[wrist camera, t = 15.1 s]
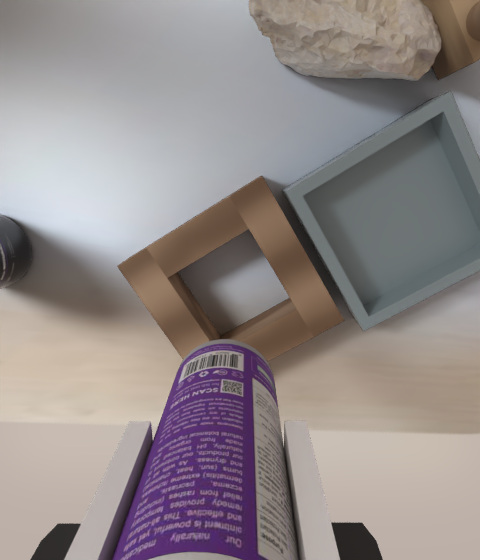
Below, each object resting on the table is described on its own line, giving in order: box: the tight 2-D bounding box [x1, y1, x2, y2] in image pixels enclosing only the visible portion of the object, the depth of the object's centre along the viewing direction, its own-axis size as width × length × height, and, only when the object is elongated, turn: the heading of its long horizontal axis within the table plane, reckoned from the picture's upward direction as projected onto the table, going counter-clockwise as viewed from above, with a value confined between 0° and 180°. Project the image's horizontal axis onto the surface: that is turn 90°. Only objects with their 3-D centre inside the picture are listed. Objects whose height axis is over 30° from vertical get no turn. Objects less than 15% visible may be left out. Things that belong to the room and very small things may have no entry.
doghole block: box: [117, 176, 344, 362], centre depth 33 cm, size 14×14×4 cm
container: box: [112, 339, 299, 560], centre depth 11 cm, size 5×5×15 cm
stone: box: [249, 0, 441, 81], centre depth 26 cm, size 8×12×10 cm, turn 74°
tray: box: [282, 91, 480, 331], centre depth 32 cm, size 14×14×3 cm
